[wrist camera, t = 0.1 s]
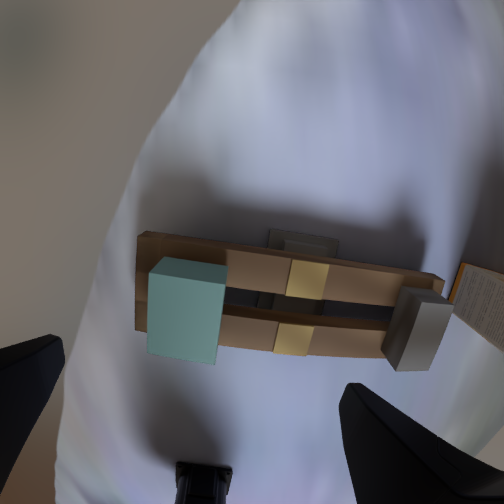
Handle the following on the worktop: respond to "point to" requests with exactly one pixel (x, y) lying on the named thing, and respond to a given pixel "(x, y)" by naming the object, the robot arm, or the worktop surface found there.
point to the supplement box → (480, 302)
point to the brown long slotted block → (310, 298)
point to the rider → (185, 309)
